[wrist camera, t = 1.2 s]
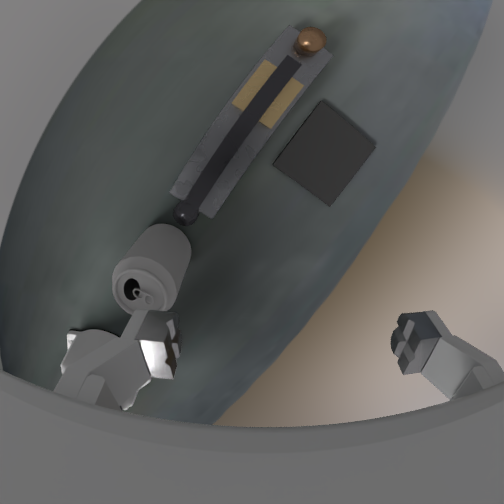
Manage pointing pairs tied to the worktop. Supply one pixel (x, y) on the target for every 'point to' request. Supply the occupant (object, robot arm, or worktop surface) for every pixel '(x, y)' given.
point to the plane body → (313, 61)
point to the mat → (324, 154)
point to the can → (152, 270)
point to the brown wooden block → (280, 101)
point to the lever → (234, 141)
